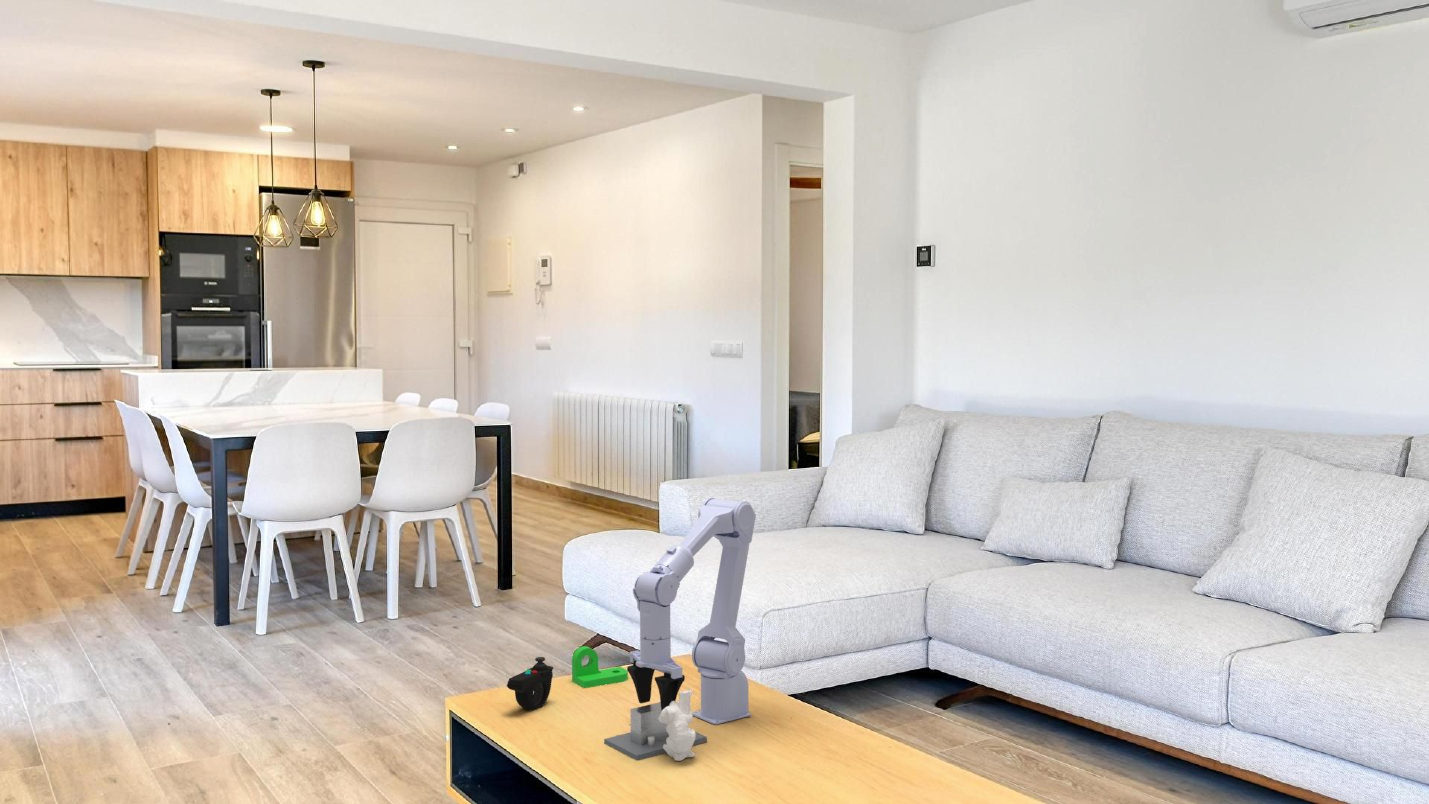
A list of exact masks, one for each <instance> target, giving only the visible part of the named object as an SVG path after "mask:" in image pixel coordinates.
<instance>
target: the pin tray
mask: <svg viewBox="0 0 1429 804" xmlns="http://www.w3.org/2000/svg"><path fill="white" fill-rule="evenodd" d="M695 734H696V737H695V741H694V743H693V746H697V745H702V744H705V743H707V742H708V736H706V735H704V734H701V733H699V732H697V731H695ZM603 740H604V741H603V743H604V744H605V745H606V746H608V747H610V748H612V749H614V750H616V751H618V752H620V753H621V754H623V755H626V756H627V757H629V758H631V759H633V760H635V761H642V760H645V759H648V758H653V757H657V756H660V755H664V754H667V752H666V751H665V750H664V749H663V745H664V744H666V745H667V743H666V739H665V740H661V741H657V742H655V737H654V736H649V737H648V744H645V745H642V746H641V745H639V744H637V743H635V742H633V741H631V731H629V732H626V733H624V734H623V733H622V734H619V735H615V736H614V735H613V736H610V737H606V738H603ZM693 746H692V747H693Z"/></svg>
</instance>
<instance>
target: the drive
mask: <svg viewBox="0 0 1429 804" xmlns="http://www.w3.org/2000/svg"><path fill="white" fill-rule="evenodd" d="M661 712H662V710H661V702H654V703H651V704H650V703H649V704H647V705H642V706H638V707H633V708H630V712H629V713H630V732H631V741H633V742H635V743H637V744H639V745H641V746H642V745H645V744H648V737H649V736H654V737H655V742H657V741H661V740H665V739H667V738H668V737H669V734H668V733H667V731H666V727H667V726H668V725H667V724H665V723H661V722H660V721H659V719H658V718H659V716H660V714H661Z"/></svg>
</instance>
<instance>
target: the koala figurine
mask: <svg viewBox="0 0 1429 804" xmlns="http://www.w3.org/2000/svg"><path fill="white" fill-rule="evenodd" d="M693 691H694V689H691V688H689V689H688V690H681V691H680V692H679V696H678V701H672V702H671V703H670V706H667V707H665V708H664V709H663V710H662V712H661V714H660V716H659V718H658V719H659V721H660V722H661V723H665V724H667V725H668V726H667V727H666V731H667V733H668V734H669V737H668V738H667V739H666V743H667V745H666V744H664V745H663V749H664V750H665V751H666V752H667V753H666V754H667V755H668V756H669V757H671V758H673V759H674V761H677V762H679V761H683V760H684V759H686V758H693V757H696V753H695V752H693V751H692V750H691V749H692V747H693V743H694V741H695V737H696V734H695V732H696V731H695V729H694V728H690V726H689V724H691V723H692V722H693V718H694V716H693V715H692V713H693V711H692V710H691V698H692V697H691V696H692V695H693Z"/></svg>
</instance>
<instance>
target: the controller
mask: <svg viewBox="0 0 1429 804" xmlns="http://www.w3.org/2000/svg"><path fill="white" fill-rule="evenodd" d="M535 661H536V663H535V664H534V665H533V666H532V667H530V668H527V669H526V670H525V671H523V672H521V673H518V674H516V675H514V676H512V677H509V678H508V681H507V684H506V687H507V688H508V689H509V690H511V691H514V694H515V695H514V696H515V701H516V702H517V704H518V705H519V707H521V708H522V709H524V710H528V709H529V710H528V711H533V710H534V709H535V710H538V709H540V708H542V707H543V706H544V705H545V703H546V702H547V700H548V698H549V696H550V693H551V689H552V681H553V677H554V675H553V673H554V672H553V670H554V666H552V665H551V666H550V665H548V664H546V663H545V661H546V657H544V656H537V657H535Z"/></svg>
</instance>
